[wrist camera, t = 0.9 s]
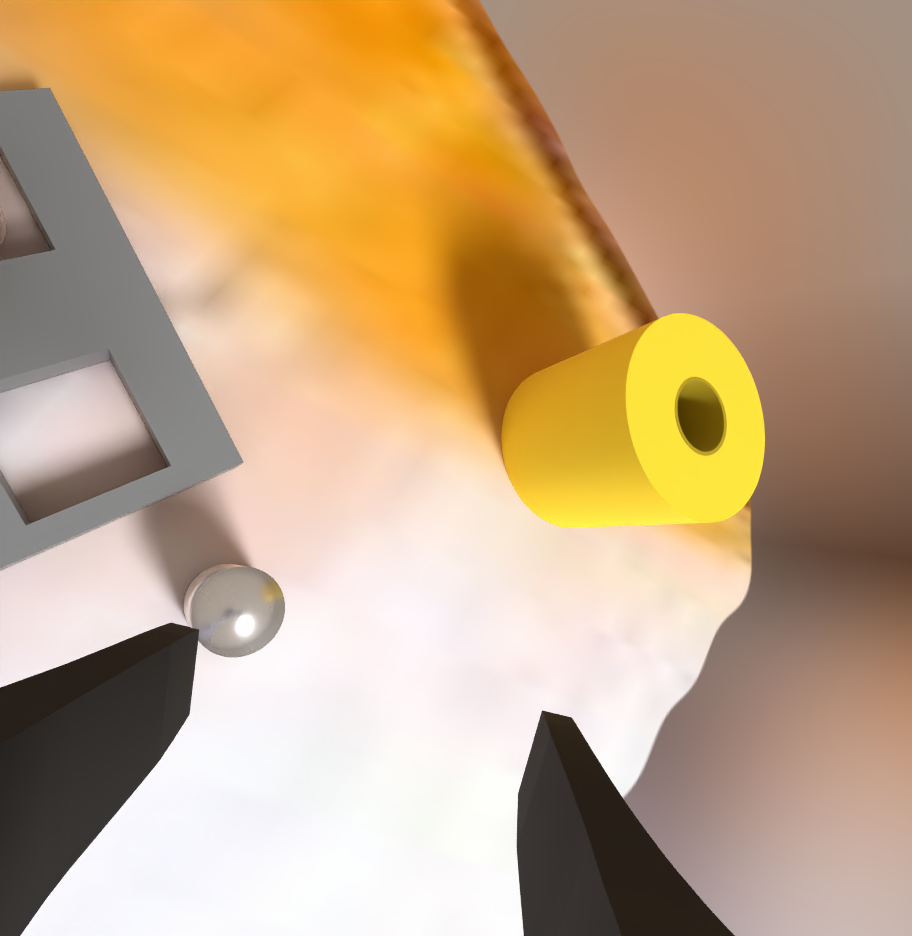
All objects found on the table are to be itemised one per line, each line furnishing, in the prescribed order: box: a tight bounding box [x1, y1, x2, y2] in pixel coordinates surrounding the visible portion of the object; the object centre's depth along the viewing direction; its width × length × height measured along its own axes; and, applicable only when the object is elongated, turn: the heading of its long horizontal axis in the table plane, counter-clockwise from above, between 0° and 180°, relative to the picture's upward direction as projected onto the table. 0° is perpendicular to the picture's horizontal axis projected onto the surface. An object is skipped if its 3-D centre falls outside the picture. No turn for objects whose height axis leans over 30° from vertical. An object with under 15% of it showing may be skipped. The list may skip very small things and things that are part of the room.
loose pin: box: [184, 564, 285, 657], centre depth 22 cm, size 3×3×4 cm
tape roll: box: [501, 313, 765, 528], centre depth 30 cm, size 10×10×9 cm
